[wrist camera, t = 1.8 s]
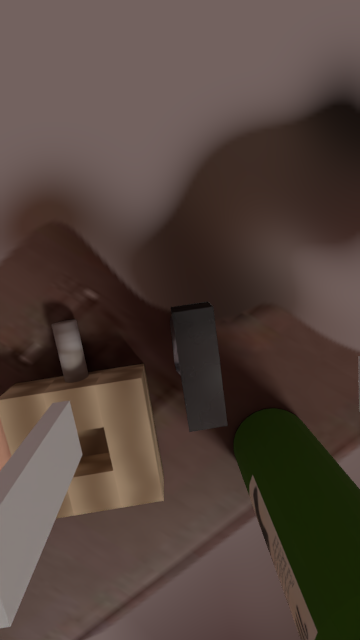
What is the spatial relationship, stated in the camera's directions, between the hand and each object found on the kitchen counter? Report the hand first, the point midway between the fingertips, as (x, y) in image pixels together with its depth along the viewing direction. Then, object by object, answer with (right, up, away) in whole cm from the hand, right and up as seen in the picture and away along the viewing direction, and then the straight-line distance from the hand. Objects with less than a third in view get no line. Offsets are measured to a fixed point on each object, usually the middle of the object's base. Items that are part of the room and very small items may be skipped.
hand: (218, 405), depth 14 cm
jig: (-12, -6, +20) cm, 24 cm away
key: (-1, +4, +18) cm, 19 cm away
